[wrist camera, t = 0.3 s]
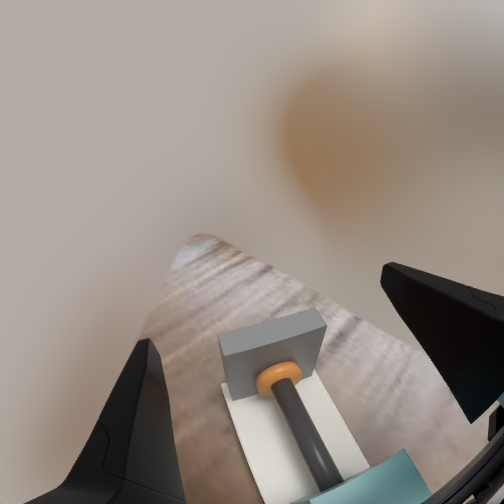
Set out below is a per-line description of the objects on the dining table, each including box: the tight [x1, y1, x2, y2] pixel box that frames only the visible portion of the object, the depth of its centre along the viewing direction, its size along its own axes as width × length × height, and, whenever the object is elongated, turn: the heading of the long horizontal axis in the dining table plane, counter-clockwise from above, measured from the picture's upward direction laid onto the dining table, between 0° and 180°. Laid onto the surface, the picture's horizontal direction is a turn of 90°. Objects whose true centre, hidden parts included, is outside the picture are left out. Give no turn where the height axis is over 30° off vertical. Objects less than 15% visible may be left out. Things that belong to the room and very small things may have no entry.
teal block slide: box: [217, 307, 370, 504], centre depth 13 cm, size 18×8×8 cm, turn 18°
